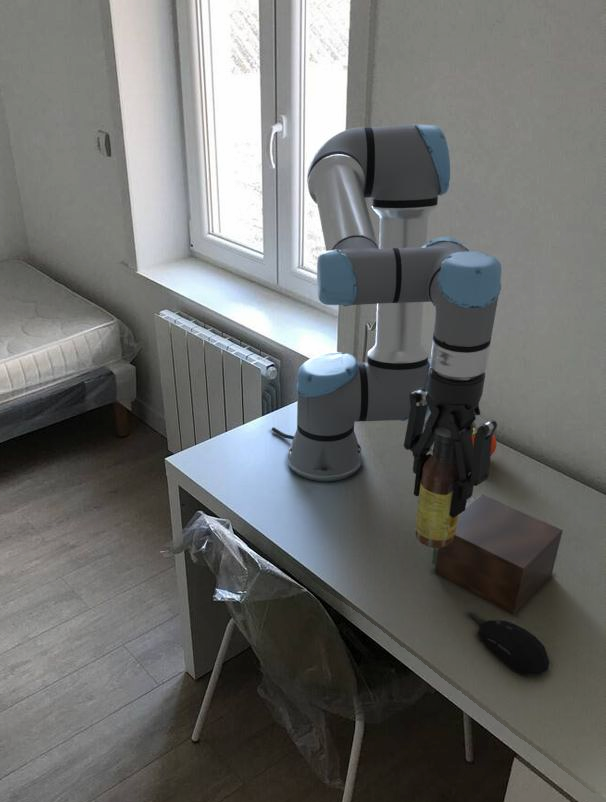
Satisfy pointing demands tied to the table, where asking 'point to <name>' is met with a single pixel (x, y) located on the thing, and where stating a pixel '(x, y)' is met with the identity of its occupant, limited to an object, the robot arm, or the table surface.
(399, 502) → the table surface
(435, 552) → the drawer
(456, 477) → the sauce bottle
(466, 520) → the cabinet
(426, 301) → the robot arm
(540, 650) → the gaming mouse
